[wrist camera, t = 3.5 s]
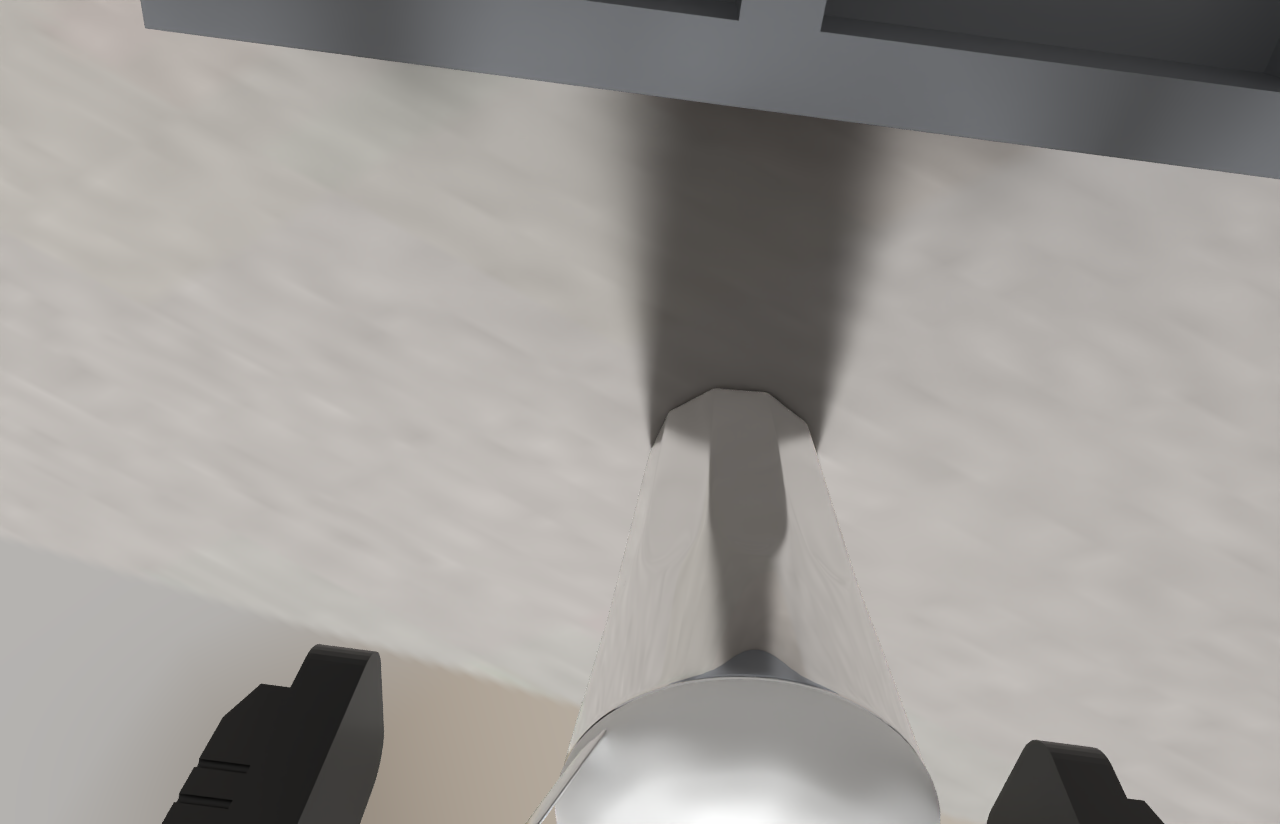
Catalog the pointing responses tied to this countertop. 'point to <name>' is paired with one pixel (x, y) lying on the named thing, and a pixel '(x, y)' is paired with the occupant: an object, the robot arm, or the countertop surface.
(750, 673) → the milkshake
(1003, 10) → the dock
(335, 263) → the countertop surface
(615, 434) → the countertop surface
